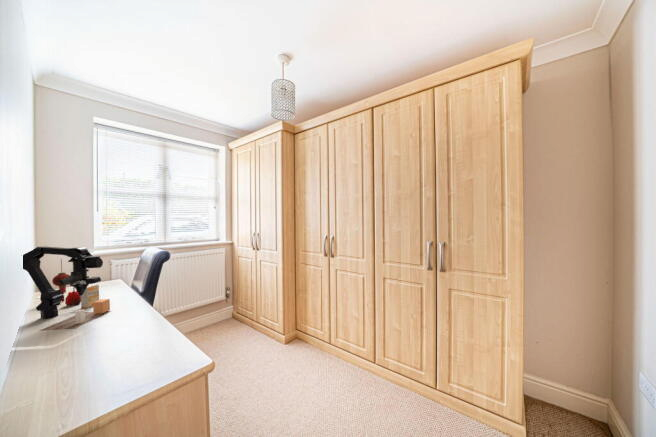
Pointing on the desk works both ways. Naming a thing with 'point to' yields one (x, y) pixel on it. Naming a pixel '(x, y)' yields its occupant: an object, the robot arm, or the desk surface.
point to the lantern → (57, 280)
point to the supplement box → (90, 296)
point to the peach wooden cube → (101, 306)
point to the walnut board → (74, 321)
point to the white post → (80, 316)
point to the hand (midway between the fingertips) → (81, 295)
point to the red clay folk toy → (73, 298)
